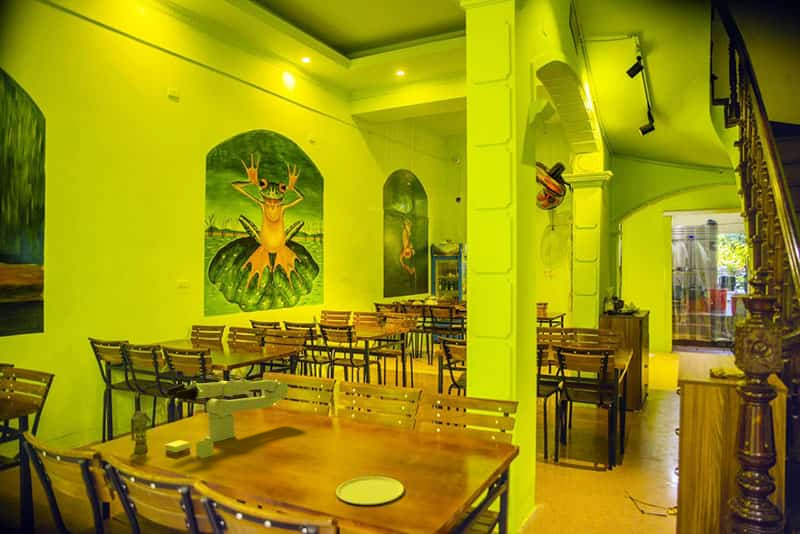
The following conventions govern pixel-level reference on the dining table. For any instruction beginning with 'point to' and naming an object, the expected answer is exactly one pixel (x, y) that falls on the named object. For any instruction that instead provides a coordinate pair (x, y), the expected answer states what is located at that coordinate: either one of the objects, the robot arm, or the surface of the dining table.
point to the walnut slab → (178, 452)
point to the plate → (370, 490)
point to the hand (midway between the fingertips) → (171, 393)
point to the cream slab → (177, 446)
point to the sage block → (204, 448)
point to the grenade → (139, 430)
